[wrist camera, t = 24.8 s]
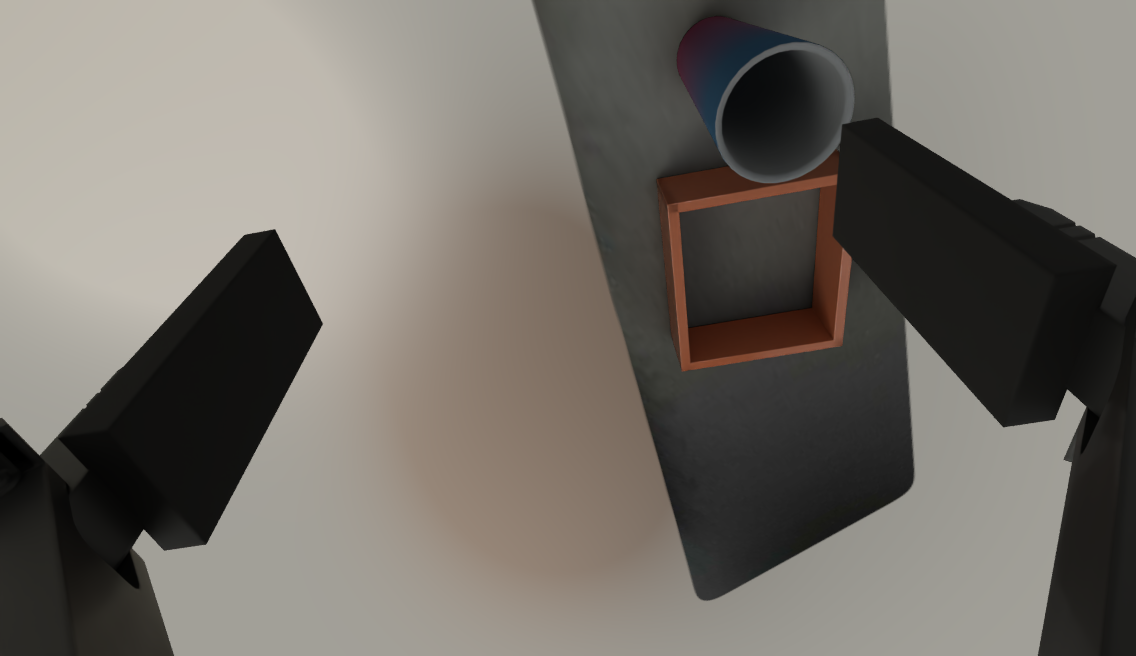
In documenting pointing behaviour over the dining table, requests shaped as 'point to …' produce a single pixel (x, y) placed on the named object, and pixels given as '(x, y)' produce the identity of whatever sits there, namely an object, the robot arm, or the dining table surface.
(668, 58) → the dining table surface
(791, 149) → the cup
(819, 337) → the rectangular frame
